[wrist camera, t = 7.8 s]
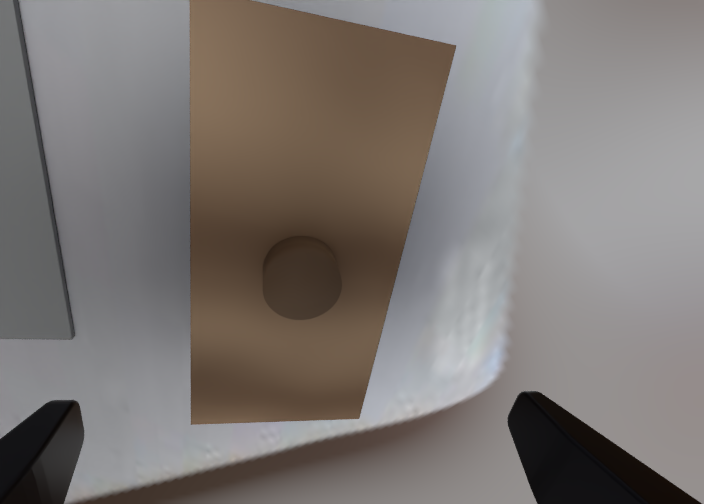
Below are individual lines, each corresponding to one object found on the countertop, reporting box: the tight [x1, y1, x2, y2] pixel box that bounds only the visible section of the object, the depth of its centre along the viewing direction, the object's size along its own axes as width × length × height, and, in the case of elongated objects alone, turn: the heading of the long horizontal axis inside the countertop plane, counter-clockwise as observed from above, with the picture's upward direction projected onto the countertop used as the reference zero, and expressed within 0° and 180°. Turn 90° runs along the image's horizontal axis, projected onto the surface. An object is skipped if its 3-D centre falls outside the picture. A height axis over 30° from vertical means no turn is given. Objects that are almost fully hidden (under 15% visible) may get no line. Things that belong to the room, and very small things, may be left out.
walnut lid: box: [190, 0, 456, 425], centre depth 13 cm, size 14×7×3 cm, turn 170°
